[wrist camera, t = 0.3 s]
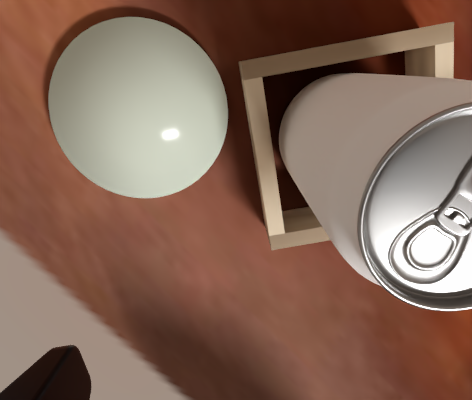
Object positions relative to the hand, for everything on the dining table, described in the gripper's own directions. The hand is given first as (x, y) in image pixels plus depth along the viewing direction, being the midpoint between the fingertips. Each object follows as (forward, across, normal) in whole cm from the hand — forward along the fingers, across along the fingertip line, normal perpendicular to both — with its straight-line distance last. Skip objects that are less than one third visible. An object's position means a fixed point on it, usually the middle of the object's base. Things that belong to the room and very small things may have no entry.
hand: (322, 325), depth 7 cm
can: (+15, -4, +1) cm, 16 cm away
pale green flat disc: (+15, +6, -2) cm, 16 cm away
